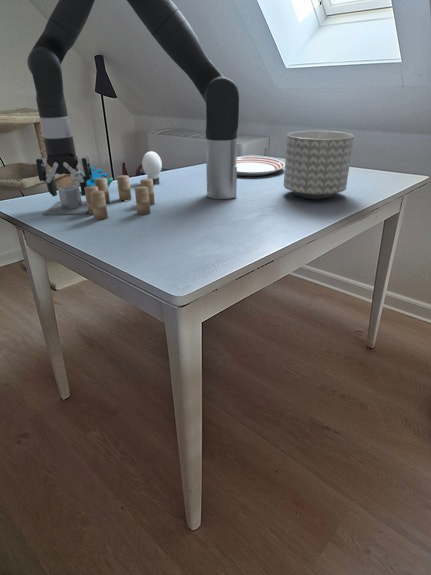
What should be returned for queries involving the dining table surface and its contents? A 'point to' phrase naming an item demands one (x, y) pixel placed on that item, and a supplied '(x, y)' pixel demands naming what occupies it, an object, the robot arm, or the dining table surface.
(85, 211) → the mat
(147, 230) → the dining table surface
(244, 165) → the dinner plate
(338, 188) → the planter
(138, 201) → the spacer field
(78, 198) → the grey block
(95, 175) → the gear
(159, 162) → the light bulb
